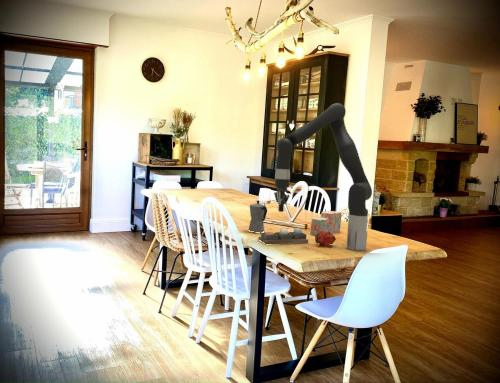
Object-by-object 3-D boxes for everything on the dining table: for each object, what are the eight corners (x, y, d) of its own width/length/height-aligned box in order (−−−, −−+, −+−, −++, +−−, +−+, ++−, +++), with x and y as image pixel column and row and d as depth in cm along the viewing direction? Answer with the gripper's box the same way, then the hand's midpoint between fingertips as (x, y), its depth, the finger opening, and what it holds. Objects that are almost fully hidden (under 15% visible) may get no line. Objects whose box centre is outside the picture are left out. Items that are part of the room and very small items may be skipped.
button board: (308, 243, 239) (308, 235, 239) (266, 244, 230) (266, 236, 230) (299, 239, 248) (299, 231, 248) (258, 240, 240) (258, 231, 239)
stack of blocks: (319, 236, 260) (320, 214, 259) (310, 234, 264) (311, 213, 263) (340, 232, 275) (341, 212, 274) (331, 230, 280) (332, 210, 278)
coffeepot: (243, 230, 265) (244, 198, 263) (256, 229, 270) (258, 198, 268) (258, 235, 252) (260, 202, 250) (272, 234, 257) (274, 202, 255)
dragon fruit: (311, 248, 235) (332, 251, 239) (319, 241, 228) (340, 245, 232) (310, 233, 240) (331, 236, 243) (318, 226, 233) (339, 230, 236)
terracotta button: (275, 239, 235) (275, 233, 235) (267, 239, 233) (267, 233, 233) (271, 237, 239) (271, 231, 239) (263, 237, 237) (264, 231, 237)
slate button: (303, 235, 241) (303, 229, 240) (295, 235, 239) (296, 230, 239) (299, 233, 245) (299, 228, 244) (291, 234, 243) (292, 228, 243)
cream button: (289, 236, 238) (289, 230, 237) (281, 236, 236) (282, 230, 236) (285, 234, 242) (286, 228, 241) (278, 234, 240) (278, 228, 240)
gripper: (295, 179, 232) (293, 213, 234) (282, 177, 244) (281, 209, 246) (281, 178, 229) (280, 213, 231) (270, 176, 241) (268, 209, 243)
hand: (280, 211), depth 238 cm, fingers closed
